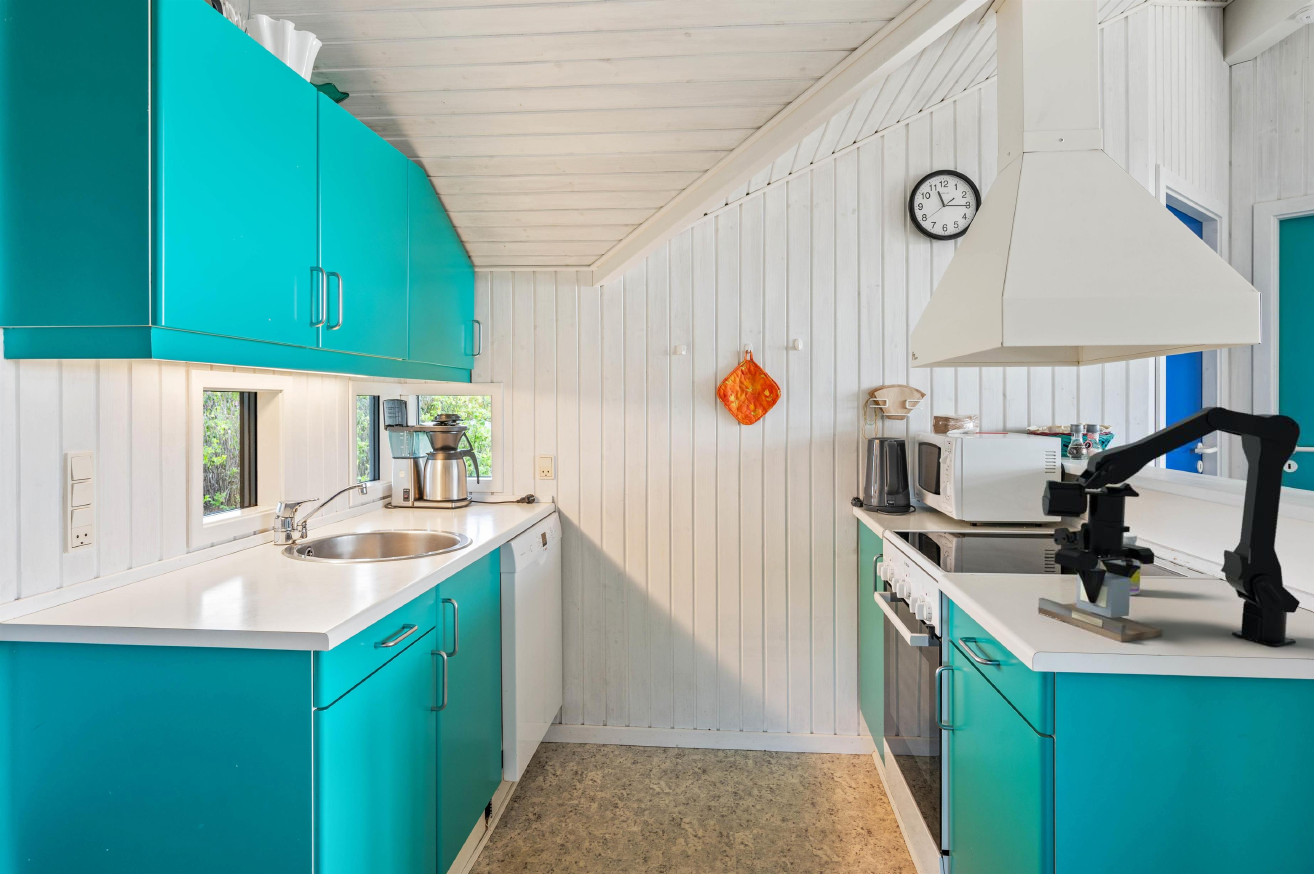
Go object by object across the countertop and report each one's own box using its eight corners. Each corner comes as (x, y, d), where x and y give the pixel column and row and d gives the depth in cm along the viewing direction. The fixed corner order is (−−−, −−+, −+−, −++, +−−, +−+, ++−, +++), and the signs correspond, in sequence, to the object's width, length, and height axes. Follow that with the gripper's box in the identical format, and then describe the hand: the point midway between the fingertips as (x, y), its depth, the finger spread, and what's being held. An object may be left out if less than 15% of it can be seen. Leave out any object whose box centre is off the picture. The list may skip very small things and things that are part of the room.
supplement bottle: (1105, 586, 157) (1108, 530, 156) (1140, 591, 153) (1143, 533, 152) (1101, 592, 152) (1104, 534, 151) (1138, 598, 147) (1141, 538, 147)
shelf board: (1076, 608, 139) (1076, 593, 139) (1161, 636, 123) (1162, 619, 123) (1037, 612, 136) (1038, 597, 136) (1120, 642, 120) (1121, 625, 120)
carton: (1093, 604, 134) (1095, 569, 133) (1128, 615, 127) (1130, 578, 127) (1075, 606, 132) (1077, 570, 132) (1110, 617, 126) (1111, 580, 125)
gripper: (1102, 510, 139) (1099, 586, 140) (1031, 514, 133) (1028, 594, 134) (1158, 519, 129) (1154, 602, 130) (1083, 524, 123) (1079, 610, 124)
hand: (1102, 601), depth 130 cm, fingers closed on carton, 5 cm apart
